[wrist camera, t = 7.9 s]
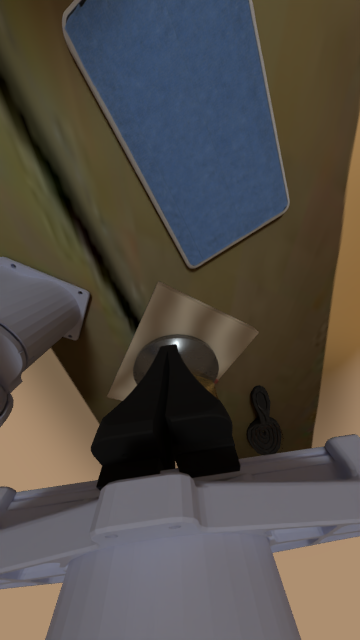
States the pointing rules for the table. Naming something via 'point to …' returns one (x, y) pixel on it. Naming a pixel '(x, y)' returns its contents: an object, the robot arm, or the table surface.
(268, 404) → the hairbrush
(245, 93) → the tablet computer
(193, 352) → the dial
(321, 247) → the table surface
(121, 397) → the dial board
